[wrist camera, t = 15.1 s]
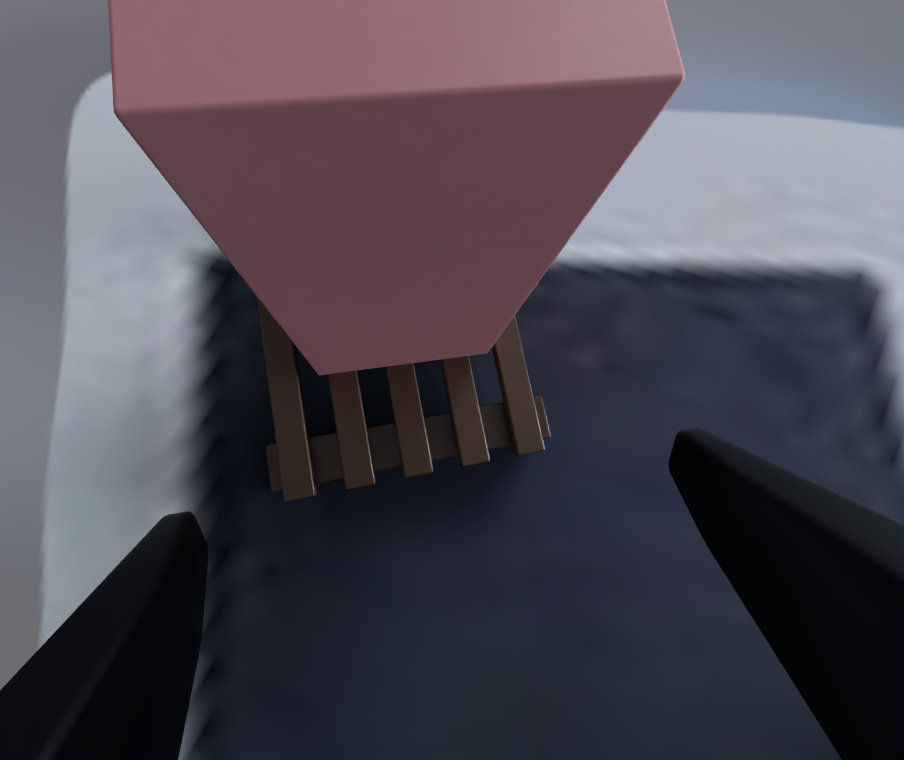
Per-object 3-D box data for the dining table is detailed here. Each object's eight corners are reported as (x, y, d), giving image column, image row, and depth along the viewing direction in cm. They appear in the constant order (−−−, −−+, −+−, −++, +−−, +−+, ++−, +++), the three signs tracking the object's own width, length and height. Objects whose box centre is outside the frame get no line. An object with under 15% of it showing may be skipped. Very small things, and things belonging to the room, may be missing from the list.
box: (487, 353, 18) (689, 77, 6) (318, 375, 18) (110, 114, 5) (457, 177, 20) (566, -379, 7) (297, 190, 19) (85, -408, 6)
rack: (536, 451, 21) (559, 447, 18) (287, 501, 20) (268, 505, 17) (478, 186, 23) (490, 143, 20) (248, 214, 22) (225, 173, 19)
